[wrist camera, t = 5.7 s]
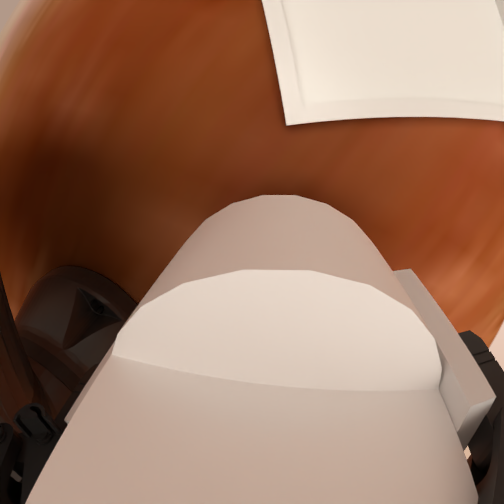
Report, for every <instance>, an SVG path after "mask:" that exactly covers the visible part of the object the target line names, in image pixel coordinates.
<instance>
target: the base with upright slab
mask: <svg viewBox="0 0 504 504" xmlns="http://www.w3.org/2000/svg"><path fill="white" fill-rule="evenodd" d="M441 371H442V367H441V363H440V358H439V354H438V350H437V346H436V342H435V339H434V337H433V335H432V333H431V332H430V330H429V328H428V327H427V325H426V323H425V322H424V320H423V318H422V317H421V315H420V313H419V312H418V310H417V308H416V307H415V305H414V304H413V302H412V300H411V299H410V297H409V296H408V294H407V293H406V291H405V289H404V288H403V286H402V285H401V283H400V282H399V280H398V279H397V277H396V276H395V274H394V273H393V271H392V270H391V268H390V267H389V265H388V264H387V262H386V261H385V260H384V258H383V257H382V255H381V254H380V252H379V251H378V250H377V248H376V247H375V245H374V244H373V242H372V241H371V240H370V239H369V238H368V236H367V235H366V234H365V233H364V232H363V231H362V230H361V229H360V227H359V226H358V225H357V224H356V223H355V222H354V221H353V220H352V219H351V218H349V217H347V216H346V215H344V214H343V213H341V212H339V211H338V210H336V209H334V208H333V207H331V206H330V205H328V204H326V203H322V202H319V201H315V200H311V199H308V198H304V197H301V196H297V195H261V196H258V197H254V198H250V199H247V200H243V201H239V202H236V203H232V204H230V205H229V206H227V207H225V208H224V209H222V210H220V211H219V212H217V213H215V214H214V215H212V216H211V217H209V218H207V219H206V220H205V221H204V222H203V223H202V224H201V225H200V226H199V227H198V229H197V230H196V231H195V232H194V233H193V234H192V235H191V236H190V237H189V238H188V240H187V241H186V242H185V243H184V245H183V246H182V247H181V248H180V250H179V251H178V252H177V254H176V255H175V256H174V258H173V259H172V260H171V261H170V263H169V264H168V265H167V267H166V268H165V269H164V271H163V272H162V273H161V275H160V276H159V277H158V279H157V280H156V281H155V283H154V284H153V285H152V287H151V288H150V289H149V291H148V292H147V294H146V295H145V296H144V298H143V299H142V300H141V302H140V303H139V305H138V306H137V307H136V309H135V310H134V311H133V313H132V314H131V316H130V317H129V318H128V320H127V321H126V323H125V324H124V326H123V327H122V328H121V330H120V331H119V333H118V334H117V338H116V341H115V344H114V347H113V351H112V354H111V356H110V357H109V359H108V361H107V362H106V364H105V365H104V367H103V368H102V370H101V371H100V373H99V375H98V376H97V378H96V379H95V381H94V383H93V384H92V386H91V387H90V389H89V391H88V392H87V394H86V395H85V397H84V399H83V400H82V402H81V404H80V405H79V407H78V409H77V410H76V412H75V414H74V415H73V417H72V419H71V420H70V422H69V424H68V425H67V427H66V429H65V431H64V432H63V434H62V436H61V437H60V439H59V441H58V443H57V444H56V446H55V448H54V450H53V452H52V453H51V455H50V457H49V459H48V461H47V462H46V464H45V466H44V468H43V470H42V472H41V474H40V475H39V477H38V479H37V481H36V483H35V485H34V487H33V489H32V491H31V493H30V495H29V497H28V499H27V501H26V503H25V504H477V503H478V494H477V490H476V487H475V484H474V481H473V477H472V474H471V471H470V468H469V465H468V462H467V459H466V457H465V454H464V451H463V448H462V445H461V443H460V440H459V437H458V435H457V432H456V430H455V427H454V425H453V422H452V420H451V417H450V415H449V412H448V410H447V408H446V405H445V403H444V400H443V398H442V396H441V394H440V391H439V383H440V377H441Z"/></svg>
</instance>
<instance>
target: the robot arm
mask: <svg viewBox="0 0 504 504" xmlns="http://www.w3.org/2000/svg"><path fill="white" fill-rule="evenodd" d="M393 273H394V274H395V276H396V277H397V279H398V280H399V282H400V283H401V285H402V286H403V288H404V289H405V291H406V293H407V294H408V296H409V297H410V299H411V300H412V302H413V304H414V305H415V307H416V308H417V310H418V312H419V313H420V315H421V317H422V318H423V320H424V322H425V323H426V325H427V327H428V328H429V330H430V332H431V333H432V335H433V337H434V339H435V342H436V346H437V350H438V354H439V358H440V363H441V367H442V371H441V377H440V383H439V391H440V394H441V396H442V398H443V400H444V403H445V405H446V408H447V410H448V412H449V415H450V417H451V420H452V422H453V425H454V427H455V430H456V432H457V435H458V437H459V440H460V443H461V445H462V448H463V451H464V450H465V448H466V447H467V446H468V447H469V450H470V452H471V455H470V457H469V458H468V459H467V462H468V465H469V468H470V471H471V474H472V477H473V481H474V484H475V487H476V490H477V494H478V503H477V504H504V371H503V370H502V368H501V367H500V365H499V364H498V362H497V361H495V358H494V356H493V355H492V353H491V352H489V349H488V347H487V346H486V344H485V343H484V342H483V340H482V339H481V338H480V337H478V336H477V335H476V334H474V333H473V332H471V331H470V330H469V331H466V332H462V333H457V331H456V330H455V329H454V327H453V326H452V324H451V323H450V321H449V320H448V318H447V317H446V315H445V314H444V313H443V311H442V310H441V308H440V307H439V306H438V304H437V303H436V301H435V300H434V299H433V297H432V296H431V295H430V293H429V292H428V290H427V289H426V288H425V286H424V285H423V284H422V283H421V281H420V280H419V279H418V277H417V276H416V275H415V273H414V272H413V271H412V270H411V269H405V270H398V271H393ZM137 306H138V305H137V304H136V303H135V302H134V301H133V300H132V299H131V298H130V297H129V296H128V295H127V294H126V293H125V292H124V291H123V290H122V289H121V288H119V287H118V286H117V285H116V284H114V283H113V282H111V281H110V280H108V279H107V278H105V277H103V276H102V275H100V274H98V273H96V272H93V271H91V270H88V269H85V268H82V267H77V266H62V267H58V268H55V269H53V270H51V271H50V272H49V273H47V274H46V275H45V276H43V277H42V278H41V279H40V280H38V281H37V282H36V283H35V284H34V286H33V287H32V288H31V290H30V291H29V293H28V295H27V297H26V299H25V301H24V303H23V305H22V307H21V309H20V310H19V312H18V314H17V317H16V319H15V321H14V319H13V316H12V313H11V310H10V307H9V303H8V300H7V296H6V293H5V289H4V285H3V281H2V277H1V273H0V504H25V503H26V501H27V499H28V497H29V495H30V493H31V491H32V489H33V487H34V485H35V483H36V481H37V479H38V477H39V475H40V474H41V472H42V470H43V468H44V466H45V464H46V462H47V461H48V459H49V457H50V455H51V453H52V452H53V450H54V448H55V446H56V444H57V443H58V441H59V439H60V437H61V436H62V434H63V432H64V431H65V429H66V427H67V425H68V424H69V422H70V420H71V419H72V417H73V415H74V414H75V412H76V410H77V409H78V407H79V405H80V404H81V402H82V400H83V399H84V397H85V395H86V394H87V392H88V391H89V389H90V387H91V386H92V384H93V383H94V381H95V379H96V378H97V376H98V375H99V373H100V371H101V370H102V368H103V367H104V365H105V364H106V362H107V361H108V359H109V357H110V356H111V354H112V351H113V347H114V344H115V341H116V338H117V334H118V333H119V331H120V330H121V328H122V327H123V326H124V324H125V323H126V321H127V320H128V318H129V317H130V316H131V314H132V313H133V311H134V310H135V309H136V307H137Z"/></svg>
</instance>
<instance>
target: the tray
mask: <svg viewBox="0 0 504 504" xmlns="http://www.w3.org/2000/svg"><path fill="white" fill-rule="evenodd" d="M262 4H263V9H264V13H265V18H266V22H267V27H268V31H269V36H270V41H271V46H272V51H273V56H274V61H275V66H276V71H277V76H278V82H279V87H280V92H281V98H282V104H283V109H284V115H285V121H286V126H289V125H297V124H306V123H315V122H325V121H336V120H349V119H366V118H389V117H444V118H467V119H481V120H493V121H503V122H504V0H262Z"/></svg>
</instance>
